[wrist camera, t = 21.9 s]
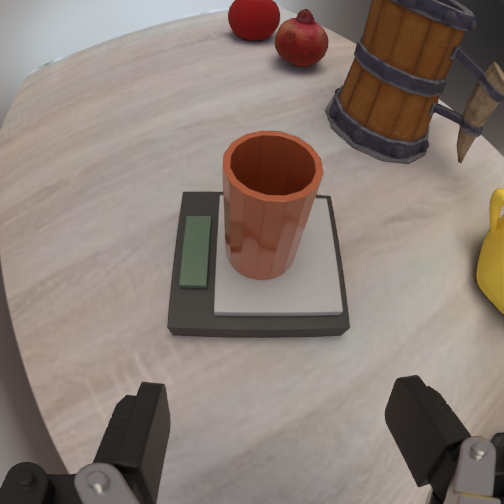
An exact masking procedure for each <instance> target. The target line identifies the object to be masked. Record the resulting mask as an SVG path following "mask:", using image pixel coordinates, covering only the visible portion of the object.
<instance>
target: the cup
mask: <svg viewBox="0 0 504 504" xmlns="http://www.w3.org/2000/svg"><path fill="white" fill-rule="evenodd" d="M322 176H323V168H322V163H321V159H320V157H319V156H318V154H317V153H316V152H315V150H314V149H313V148H312V147H311V146H310V145H309V144H307V143H306V142H304V141H303V140H301V139H300V138H298V137H296V136H293V135H290V134H286V133H283V132H279V131H258V132H254V133H250V134H246V135H244V136H242V137H240V138H239V139H237V140H235V141H234V142H232V143H231V145H230V146H229V148H228V149H227V150H226V152H225V153H224V156H223V197H224V226H225V249H226V254H227V258H228V260H229V262H230V264H231V265H232V267H233V268H234V269H235V270H236V271H238V272H239V273H240V274H242V275H244V276H246V277H248V278H251V279H256V280H268V279H273V278H276V277H278V276H280V275H282V274H283V273H285V272H286V271H287V270H288V269H289V268H290V266H291V265H292V263H293V261H294V259H295V256H296V253H297V250H298V247H299V245H300V242H301V239H302V236H303V233H304V230H305V227H306V224H307V221H308V218H309V215H310V212H311V209H312V206H313V203H314V200H315V197H316V194H317V191H318V188H319V185H320V182H321V179H322Z"/></svg>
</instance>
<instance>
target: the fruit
mask: <svg viewBox="0 0 504 504" xmlns="http://www.w3.org/2000/svg"><path fill="white" fill-rule="evenodd" d="M275 48H276V50H277V52H278V54H279V55H280V56H281V57H282V58H283V59H285V60H287V61H288V62H290V63H292V64H294V65H296V66H301V67H306V66H310V65H313V64H315V63H317V62H318V61H320V60H321V59H322V58H323V57H324V55H325V53H326V51H327V48H328V36H327V34H326V32H325V30H324V29H323V28H322V27H321V26H320V25H319V24H318V23H317V22H315V21H314V17H313V15H312V14H311V12H310V11H309V10H307V9H304V10H301V11H300V12H299V13H298V15H297V17H296V18H291V19H289V20H287V21H285V22H284V23H283V24H282V25H281V26H280V28H279V30H278V32H277V34H276V37H275Z"/></svg>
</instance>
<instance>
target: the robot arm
mask: <svg viewBox="0 0 504 504" xmlns="http://www.w3.org/2000/svg"><path fill="white" fill-rule="evenodd" d="M385 421H386V424H387V426H388V428H389V430H390V432H391V434H392V436H393V438H394V440H395V442H396V444H397V446H398V447H399V449H400V451H401V453H402V455H403V457H404V459H405V461H406V463H407V465H408V467H409V469H410V472H411V474H412V476H413V478H414V480H415V482H416V484H417V486H418V487H421V486H424V485H427V484H430V485H431V487H432V488H431V490H430V491H429V493H428V497H427V500H426V503H425V504H504V445H498V446H494V445H493V444H492V443H491V442H490V441H489V440H487V439H486V438H483V437H479V436H473V437H472V436H471V435H470V434H469V432H468V431H467V429H466V428H465V427H464V425H463V424H462V423H461V421H460V420H459V418H458V417H457V416H456V414H455V413H454V412H453V411H452V409H451V408H450V406H449V405H448V404H446V401H445V400H444V398H443V397H442V396H441V395H440V393H438V392H437V391H435V390H434V389H433V388H431V387H430V386H426V385H425V384H424V382H423V381H422V380H421V378H420V377H419V376H417V375H414V376H407V377H400V378H398V379H397V380H396V381H395V383H394V386H393V389H392V392H391V395H390V398H389V401H388V403H387V406H386V409H385ZM169 433H170V412H169V406H168V400H167V393H166V387H165V384H160V383H149V382H142V383H141V385H140V388H139V390H138V393H137V396H132V395H126V396H125V397H124V398H123V399H122V400H121V401H120V402H118V403H117V405H116V407H115V409H114V412H113V414H112V418H111V419H110V421H109V424H108V427H107V429H106V431H105V434H104V436H103V439H102V441H101V444H100V446H99V449H98V451H97V454H96V457H95V459H94V461H93V463H92V464H88V465H86V466H84V467H82V468H81V469H80V470H79V471H78V472H77V473H76V474H69V475H54V474H53V475H52V474H46V472H45V471H44V470H43V468H42V467H40V466H39V465H37V464H35V463H31V462H23V463H19V464H17V465H15V466H13V467H12V468H11V469H10V470H9V471H8V474H7V475H6V477H5V480H4V482H3V484H2V487H1V488H0V504H156V501H157V496H158V490H159V485H160V479H161V474H162V469H163V463H164V458H165V453H166V448H167V443H168V438H169Z"/></svg>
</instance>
